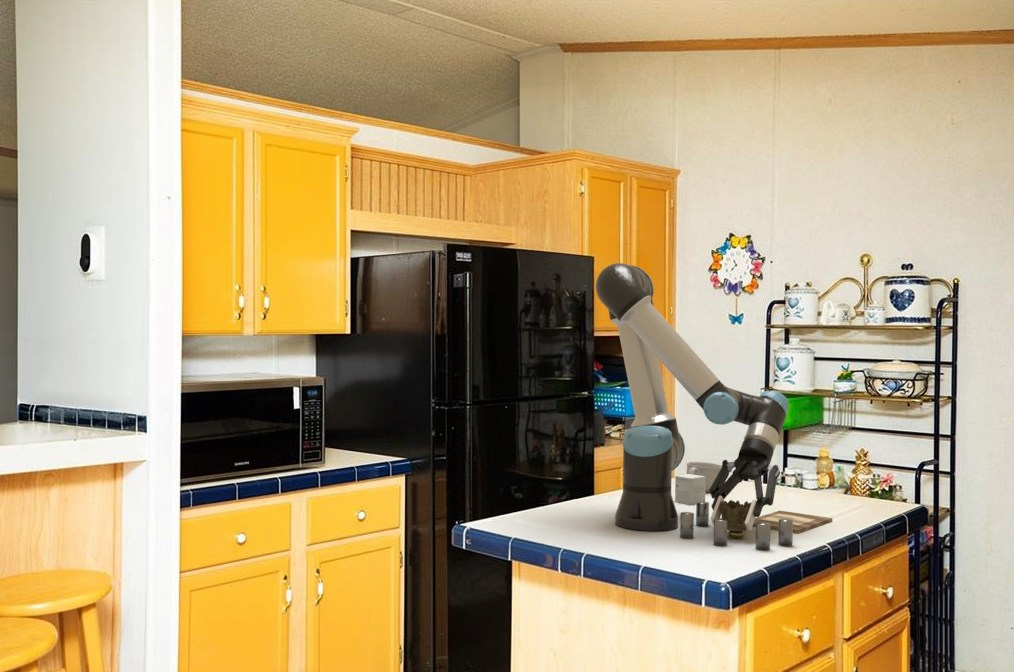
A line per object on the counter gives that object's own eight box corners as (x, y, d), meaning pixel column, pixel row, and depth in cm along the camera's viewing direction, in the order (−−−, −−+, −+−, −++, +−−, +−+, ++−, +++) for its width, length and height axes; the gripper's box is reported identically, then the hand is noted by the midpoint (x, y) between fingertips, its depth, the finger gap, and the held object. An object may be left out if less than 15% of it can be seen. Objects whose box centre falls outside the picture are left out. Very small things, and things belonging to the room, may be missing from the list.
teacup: (701, 486, 294) (702, 460, 294) (731, 491, 285) (731, 464, 285) (671, 491, 285) (671, 463, 285) (700, 496, 276) (701, 468, 276)
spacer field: (710, 552, 206) (711, 527, 206) (657, 525, 234) (657, 502, 234) (801, 548, 212) (801, 523, 212) (738, 522, 239) (739, 500, 239)
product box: (674, 501, 267) (674, 475, 267) (688, 499, 271) (688, 473, 271) (691, 505, 263) (692, 478, 262) (706, 502, 266) (706, 476, 266)
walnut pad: (798, 533, 228) (798, 529, 228) (743, 524, 237) (743, 521, 237) (832, 521, 243) (832, 517, 243) (779, 513, 252) (779, 510, 252)
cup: (714, 538, 221) (715, 503, 221) (726, 532, 227) (727, 498, 227) (746, 542, 217) (747, 507, 217) (757, 537, 223) (758, 502, 223)
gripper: (804, 460, 228) (778, 540, 215) (722, 452, 240) (693, 528, 227) (796, 439, 224) (770, 520, 211) (714, 433, 236) (684, 509, 223)
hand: (730, 524), depth 219 cm, fingers closed on cup, 7 cm apart
